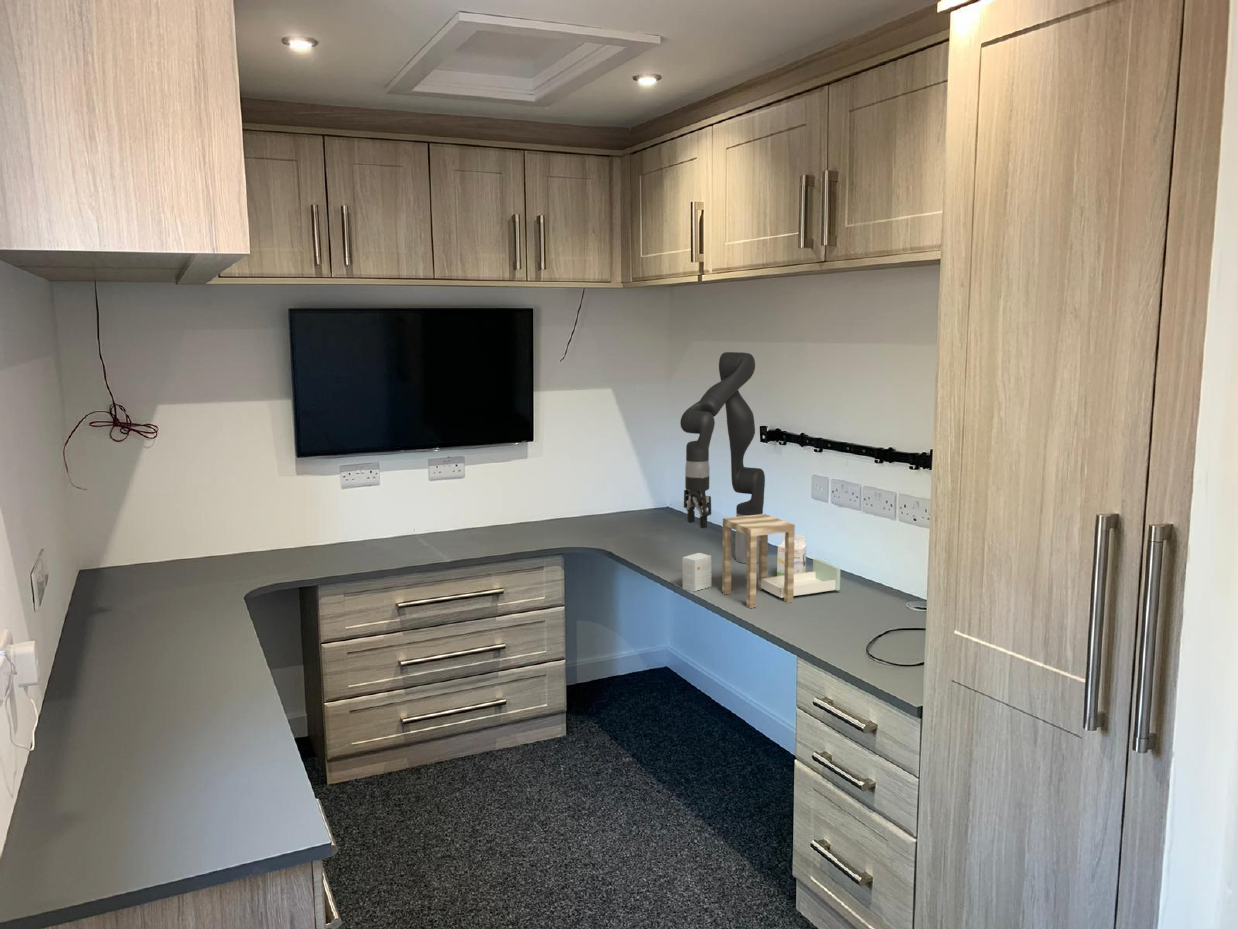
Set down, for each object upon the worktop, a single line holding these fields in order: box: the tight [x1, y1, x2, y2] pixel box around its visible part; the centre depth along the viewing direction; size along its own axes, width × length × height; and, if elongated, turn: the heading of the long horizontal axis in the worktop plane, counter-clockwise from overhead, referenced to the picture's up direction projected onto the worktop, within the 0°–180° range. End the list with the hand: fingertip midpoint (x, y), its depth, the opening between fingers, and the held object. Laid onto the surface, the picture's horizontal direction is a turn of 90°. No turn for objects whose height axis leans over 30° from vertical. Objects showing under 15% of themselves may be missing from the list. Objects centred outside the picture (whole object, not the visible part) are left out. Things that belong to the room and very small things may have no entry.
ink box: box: [776, 533, 807, 576], centre depth 304 cm, size 9×5×15 cm, turn 62°
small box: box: [682, 552, 712, 592], centre depth 296 cm, size 8×6×10 cm
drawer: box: [761, 557, 841, 599], centre depth 291 cm, size 13×21×7 cm, turn 113°
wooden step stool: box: [721, 513, 796, 609], centre depth 284 cm, size 17×15×24 cm
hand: (697, 525), depth 294 cm, fingers open, 8 cm apart
